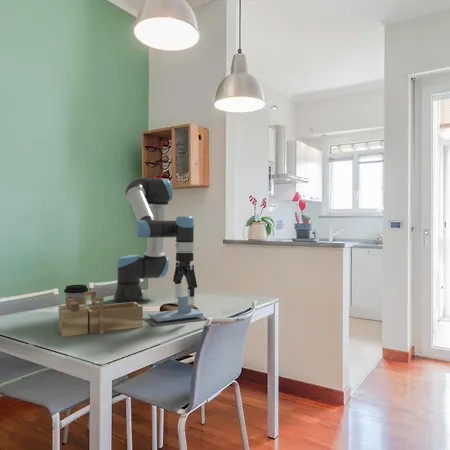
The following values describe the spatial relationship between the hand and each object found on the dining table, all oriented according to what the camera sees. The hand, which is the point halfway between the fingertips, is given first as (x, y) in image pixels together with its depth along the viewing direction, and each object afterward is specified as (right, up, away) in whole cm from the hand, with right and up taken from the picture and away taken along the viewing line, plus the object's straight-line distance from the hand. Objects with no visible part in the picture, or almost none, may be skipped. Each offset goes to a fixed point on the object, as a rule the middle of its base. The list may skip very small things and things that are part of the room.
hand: (184, 301), depth 170 cm
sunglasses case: (-3, -7, +12) cm, 14 cm away
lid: (-3, -6, -2) cm, 7 cm away
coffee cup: (-43, -7, -9) cm, 45 cm away
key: (-40, +2, -22) cm, 46 cm away
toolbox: (-30, -7, -17) cm, 35 cm away
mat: (-4, -7, -2) cm, 8 cm away
